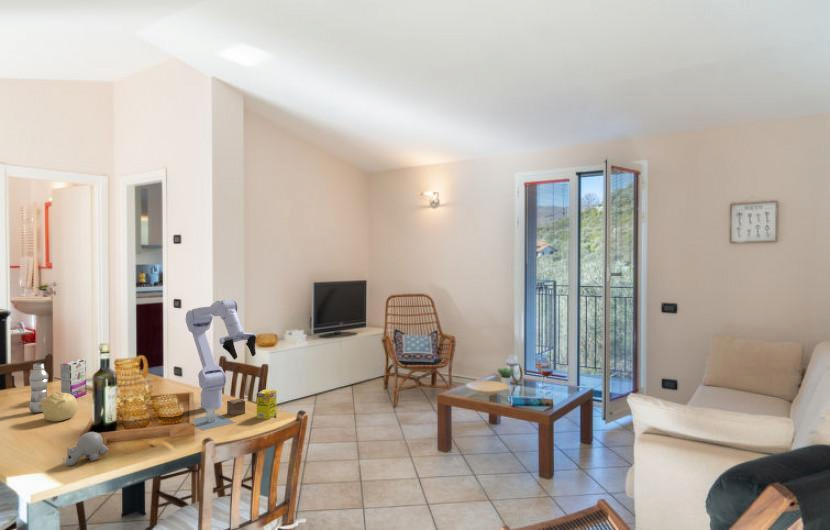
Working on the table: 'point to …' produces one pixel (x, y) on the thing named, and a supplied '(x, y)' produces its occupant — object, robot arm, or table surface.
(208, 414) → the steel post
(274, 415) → the supplement box
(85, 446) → the chubby cartoon animal
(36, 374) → the plastic bottle
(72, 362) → the candy bar box
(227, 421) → the slate board
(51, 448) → the table surface
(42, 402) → the pale yellow round lump
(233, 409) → the walnut cap
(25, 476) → the table surface
